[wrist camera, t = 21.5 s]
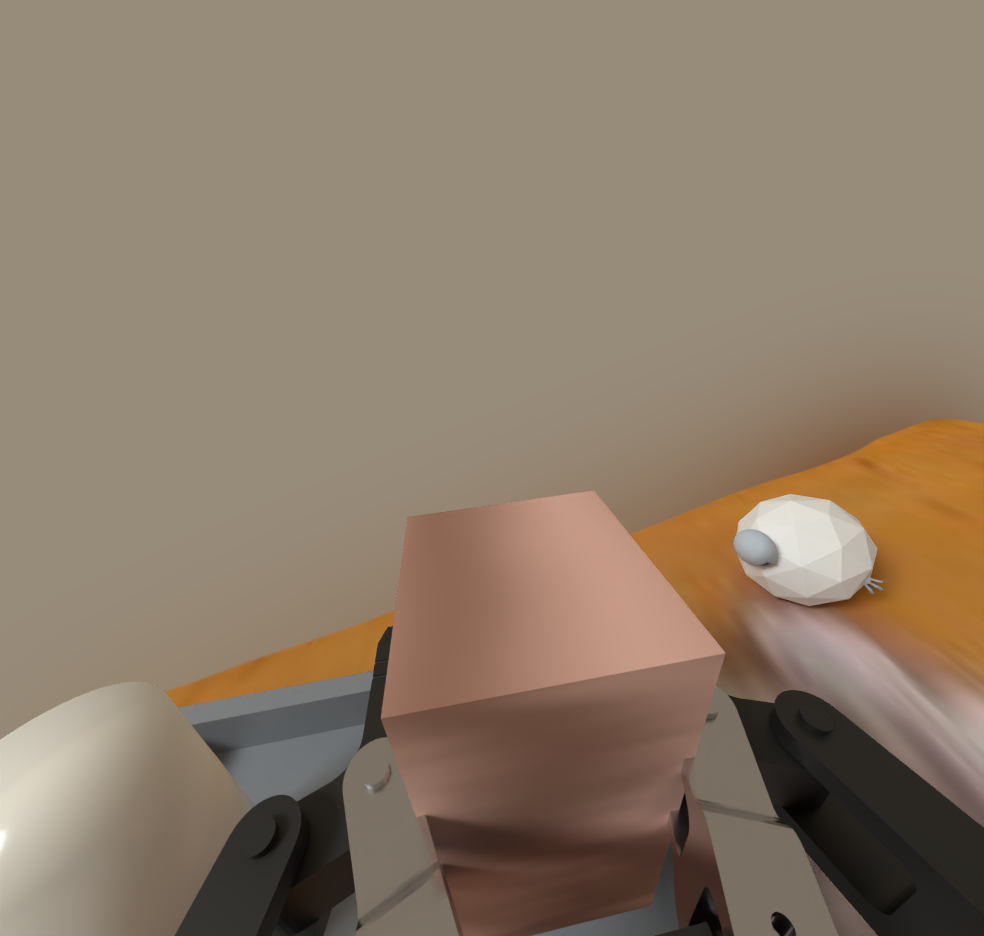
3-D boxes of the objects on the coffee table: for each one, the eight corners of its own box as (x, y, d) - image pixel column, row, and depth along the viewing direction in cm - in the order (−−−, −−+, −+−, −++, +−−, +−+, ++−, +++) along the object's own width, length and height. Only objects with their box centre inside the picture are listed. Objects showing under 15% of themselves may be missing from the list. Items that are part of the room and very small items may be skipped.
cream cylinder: (315, 821, 15) (210, 666, 11) (265, 1043, 11) (50, 935, 6) (188, 849, 15) (24, 700, 10) (81, 1092, 10) (-292, 1015, 6)
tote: (596, 670, 21) (599, 628, 19) (837, 1234, 8) (900, 1244, 7) (192, 750, 19) (159, 711, 17) (-275, 1633, 6) (-542, 1772, 5)
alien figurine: (776, 557, 30) (672, 556, 26) (824, 482, 28) (718, 466, 23) (886, 627, 24) (774, 642, 20) (960, 538, 22) (851, 531, 17)
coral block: (583, 713, 14) (593, 490, 10) (650, 905, 10) (725, 652, 5) (455, 738, 14) (407, 517, 9) (464, 952, 9) (380, 718, 5)
